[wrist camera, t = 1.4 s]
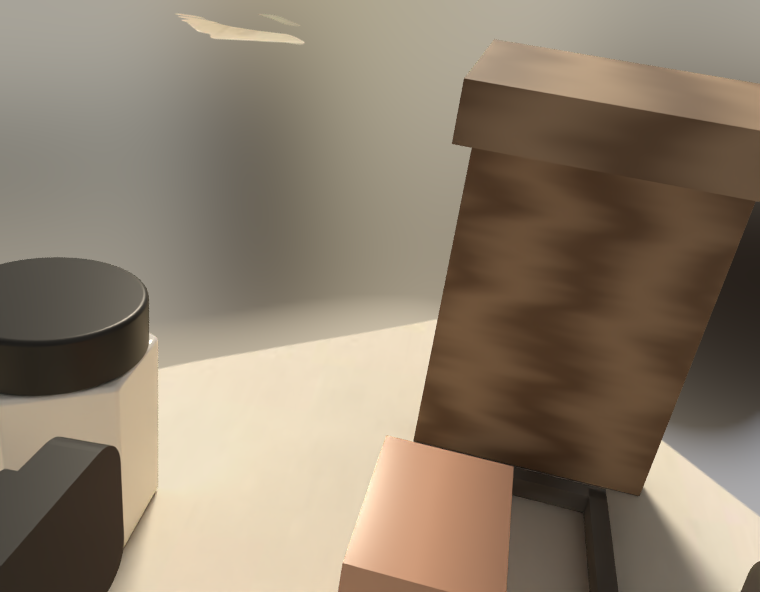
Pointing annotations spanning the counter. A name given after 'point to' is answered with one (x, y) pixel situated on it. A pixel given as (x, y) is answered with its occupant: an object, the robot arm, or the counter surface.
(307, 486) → the counter surface
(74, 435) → the jar
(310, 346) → the counter surface
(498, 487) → the tall terracotta pillar
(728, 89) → the shelf
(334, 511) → the counter surface
